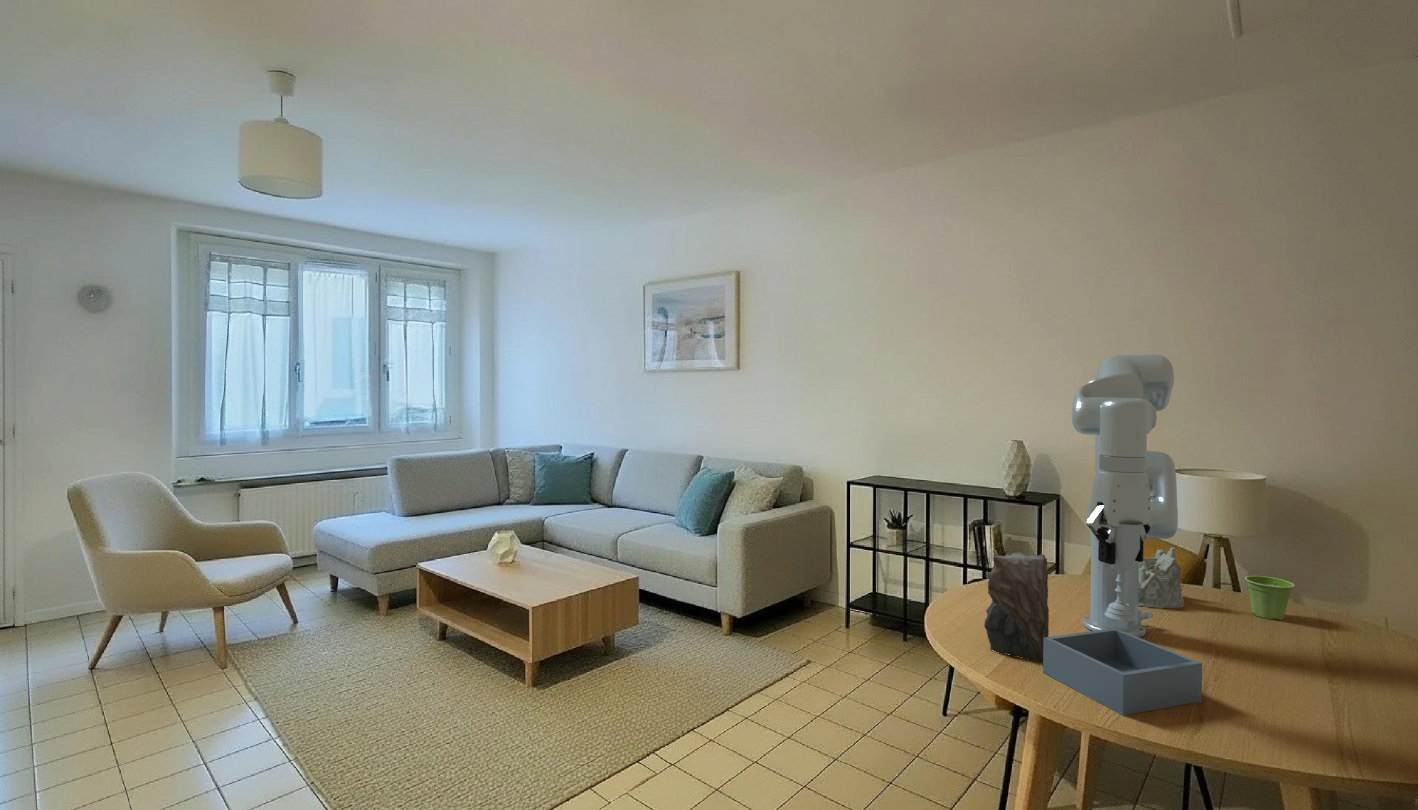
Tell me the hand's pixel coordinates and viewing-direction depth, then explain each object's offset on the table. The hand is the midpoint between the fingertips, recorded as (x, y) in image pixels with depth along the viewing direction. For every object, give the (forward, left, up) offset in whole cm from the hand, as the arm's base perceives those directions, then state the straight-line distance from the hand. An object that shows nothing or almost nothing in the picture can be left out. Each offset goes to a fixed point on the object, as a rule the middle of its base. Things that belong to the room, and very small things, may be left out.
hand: (1120, 560), depth 126 cm
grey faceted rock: (+5, -19, -24) cm, 31 cm away
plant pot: (-69, -20, -24) cm, 76 cm away
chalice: (0, 0, -11) cm, 11 cm away
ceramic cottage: (-53, -39, -24) cm, 70 cm away
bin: (0, 0, -24) cm, 24 cm away
